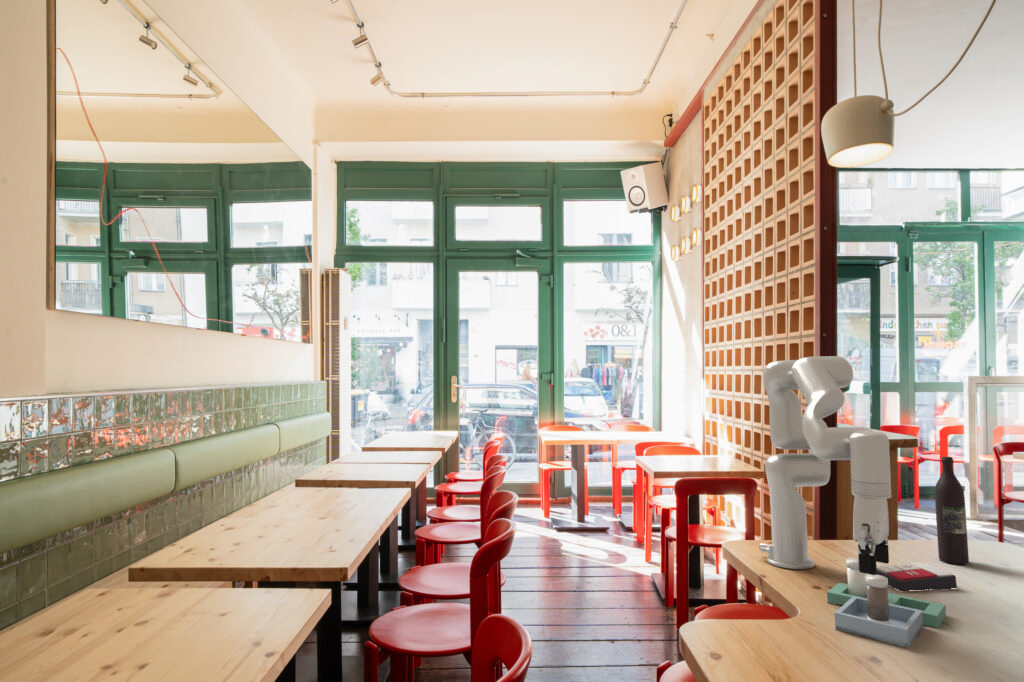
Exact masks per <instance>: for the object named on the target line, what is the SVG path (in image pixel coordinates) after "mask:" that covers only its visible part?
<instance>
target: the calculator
mask: <svg viewBox="0 0 1024 682" xmlns="http://www.w3.org/2000/svg"><path fill="white" fill-rule="evenodd" d="M876 568H877V574H876V575H881V576H884V577H887V578H888V585H890V586H892V587H894V588H896V589H898V590H900V591H909V590H925V589H926V590H927V589H928V591H930V590H929V589H939V590H940V589H951V588H957V589H958V586H957V578H956V575H954V574H953V573H951V572H948V571H946V570H945V569H944V570H943V569H941V568H938V567H936V566H933V565H931V564H929V563H926V562H915V563H913V562H912V563H911V562H906V563H897V564H893V565H892V564H885V565H876ZM890 586H889V587H890ZM892 587H891V588H892ZM894 588H893V589H894ZM896 589H895V590H896ZM898 590H897V591H898ZM900 591H899V592H900Z"/></svg>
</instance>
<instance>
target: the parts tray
mask: <svg viewBox="0 0 1024 682" xmlns="http://www.w3.org/2000/svg"><path fill="white" fill-rule="evenodd" d="M867 615H868V609H867V599H865V598H860V597H856V596H853V597H852V598H851V599H850V600H848V601H847V602H846V603H845V604H844V605H843V606H840V607H839V608H838V609H837V610H836V611H835V612H834V627H835V630H837V631H841V632H845V633H848V634H852V635H857V636H860V637H864V638H868V639H871V640H875V641H880V642H882V643H883V642H884V643H887V644H892V645H895V646H900V647H903V648H906V649H908V648H910V646H911V645H912V644H913V642H914V641H915V640H916V638H917V636H918V635H920V632H921V631H922V630H923V629H924V625H923V616H922V611H920V610H916V609H911V608H906V607H902V606H897V605H893V604H889V618H890V624H887V623H883V622H879V621H875V620H871V619H868V618H867Z"/></svg>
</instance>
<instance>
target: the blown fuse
mask: <svg viewBox="0 0 1024 682" xmlns="http://www.w3.org/2000/svg"><path fill="white" fill-rule="evenodd" d="M865 583H866V592H867V609H868V615H867V618H868V619H871V620H875V621H879V622H883V623H887V624H890V618H889V602H888V593H889V589H888V587H889V586H888V578H887V577H884V576H881V575H871V574H866V575H865Z"/></svg>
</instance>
